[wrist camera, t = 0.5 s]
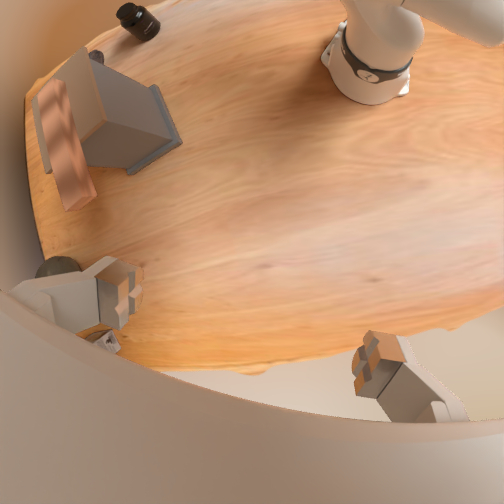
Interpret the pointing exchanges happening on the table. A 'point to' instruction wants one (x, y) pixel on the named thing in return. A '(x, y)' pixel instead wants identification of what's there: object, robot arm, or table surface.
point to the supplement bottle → (138, 21)
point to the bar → (64, 147)
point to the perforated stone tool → (96, 56)
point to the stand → (112, 116)
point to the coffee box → (104, 340)
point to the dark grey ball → (57, 267)
